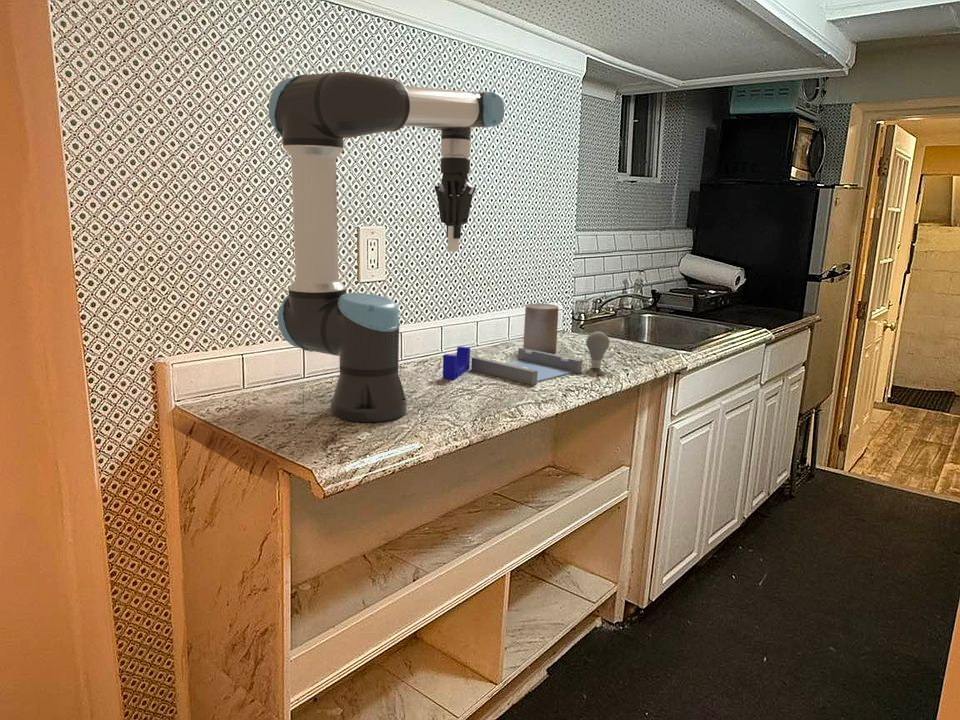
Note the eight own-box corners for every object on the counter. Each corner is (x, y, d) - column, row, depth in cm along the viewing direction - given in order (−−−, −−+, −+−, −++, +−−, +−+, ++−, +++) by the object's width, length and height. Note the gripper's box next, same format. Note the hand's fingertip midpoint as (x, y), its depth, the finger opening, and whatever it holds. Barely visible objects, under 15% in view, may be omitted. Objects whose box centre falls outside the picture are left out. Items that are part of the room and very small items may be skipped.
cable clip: (452, 368, 177) (453, 345, 176) (469, 370, 176) (470, 347, 175) (436, 378, 166) (437, 354, 165) (454, 380, 165) (455, 356, 164)
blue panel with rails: (532, 384, 163) (532, 371, 162) (471, 369, 176) (471, 357, 175) (581, 372, 177) (582, 360, 177) (522, 358, 191) (522, 347, 190)
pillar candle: (551, 348, 206) (554, 299, 203) (559, 355, 197) (562, 303, 194) (519, 348, 205) (522, 298, 202) (526, 355, 196) (529, 303, 192)
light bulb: (589, 371, 179) (591, 333, 177) (581, 365, 185) (584, 329, 182) (610, 370, 180) (613, 333, 178) (602, 365, 186) (605, 329, 184)
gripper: (484, 158, 172) (481, 252, 177) (448, 159, 181) (445, 249, 186) (463, 155, 167) (460, 253, 172) (427, 157, 175) (425, 249, 181)
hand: (453, 251), depth 179 cm, fingers closed
